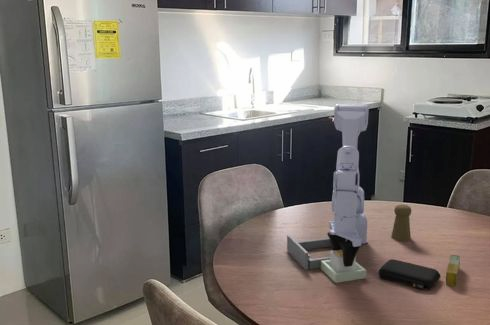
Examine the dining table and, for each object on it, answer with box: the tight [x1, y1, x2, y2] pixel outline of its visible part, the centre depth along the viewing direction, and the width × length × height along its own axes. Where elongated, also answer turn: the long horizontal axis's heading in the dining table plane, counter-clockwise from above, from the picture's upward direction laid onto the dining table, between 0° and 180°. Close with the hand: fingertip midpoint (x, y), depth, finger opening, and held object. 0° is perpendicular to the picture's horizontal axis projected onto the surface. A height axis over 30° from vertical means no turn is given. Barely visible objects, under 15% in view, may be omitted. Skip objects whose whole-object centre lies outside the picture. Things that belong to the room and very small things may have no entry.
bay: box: [320, 260, 367, 284], centre depth 133 cm, size 9×9×2 cm
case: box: [286, 234, 332, 271], centre depth 143 cm, size 15×14×5 cm
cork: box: [390, 203, 412, 242], centre depth 156 cm, size 6×6×11 cm
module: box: [329, 250, 357, 273], centre depth 132 cm, size 5×5×5 cm
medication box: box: [445, 254, 461, 287], centre depth 130 cm, size 12×3×4 cm, turn 154°
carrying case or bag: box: [377, 258, 442, 291], centre depth 129 cm, size 11×3×15 cm
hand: (343, 261), depth 132 cm, fingers closed on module, 5 cm apart
